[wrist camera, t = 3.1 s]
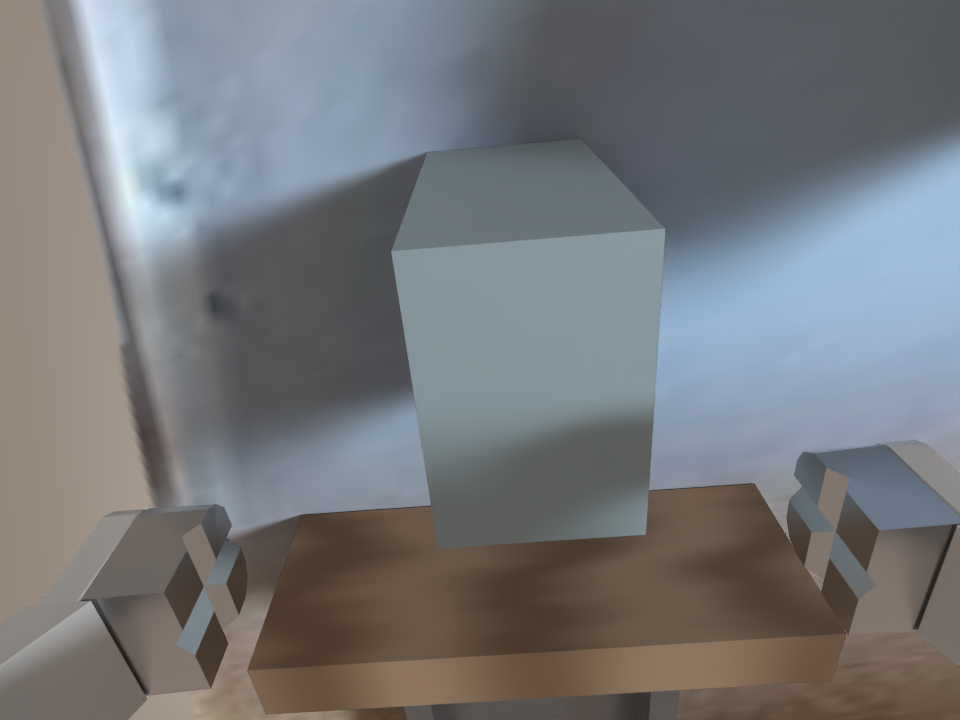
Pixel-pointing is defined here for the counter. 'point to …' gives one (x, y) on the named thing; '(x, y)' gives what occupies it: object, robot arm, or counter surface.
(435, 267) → the block
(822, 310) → the counter surface
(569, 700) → the keeper
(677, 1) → the counter surface
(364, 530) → the brown wooden board
